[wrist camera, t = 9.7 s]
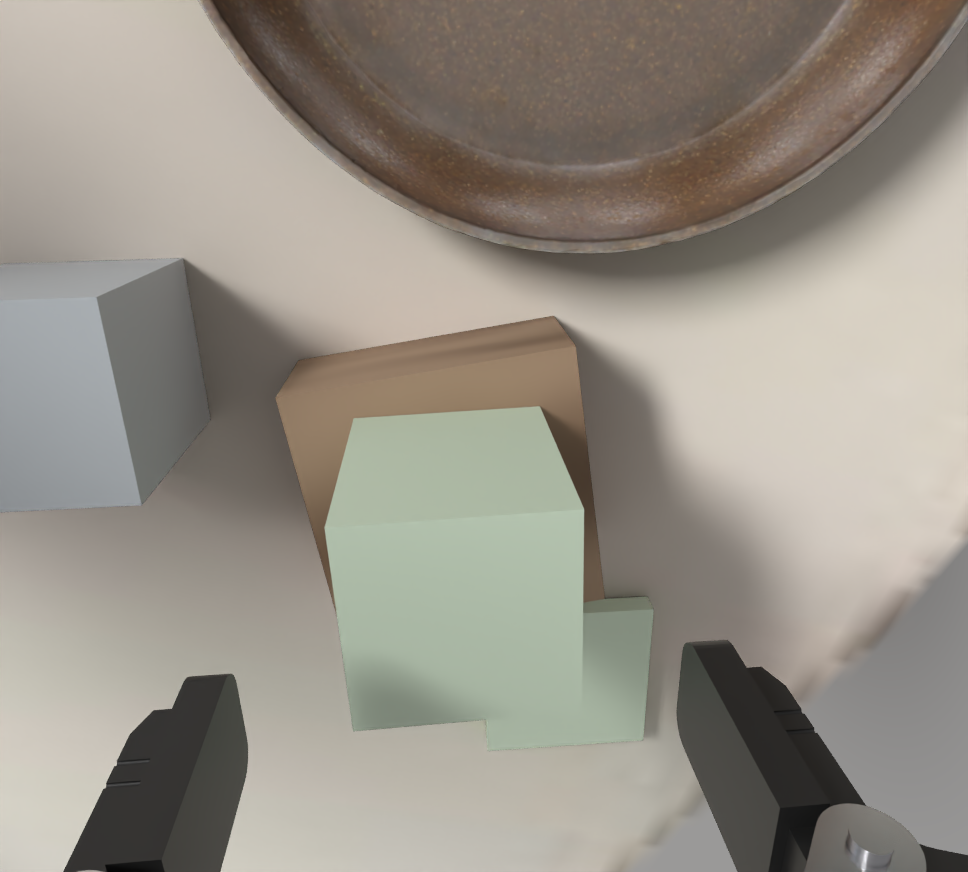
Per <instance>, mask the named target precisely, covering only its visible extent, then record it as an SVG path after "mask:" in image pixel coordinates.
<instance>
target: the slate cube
mask: <svg viewBox="0 0 968 872" xmlns="http://www.w3.org/2000/svg"><path fill="white" fill-rule="evenodd" d="M210 420H211V419H210V413H209V407H208V401H207V396H206V390H205V384H204V378H203V372H202V366H201V360H200V355H199V349H198V343H197V337H196V331H195V325H194V319H193V313H192V308H191V302H190V296H189V290H188V284H187V278H186V272H185V267H184V261H183V258H170V259H137V260H105V261H73V262H41V263H8V264H2V265H0V512H18V511H38V510H58V509H78V508H98V507H118V506H139V505H142V504H143V503H144V502H145V501H146V499H147V498H148V497H149V496H150V494H151V493H152V492H153V491H154V489H155V488H156V487H157V486H158V484H159V483H160V482H161V481H162V479H163V478H164V477H165V476H166V474H167V473H168V472H169V471H170V469H171V468H172V467H173V466H174V464H175V463H176V462H177V461H178V459H179V458H180V457H181V456H182V454H183V453H184V452H185V451H186V449H187V448H188V447H189V446H190V444H191V443H192V442H193V441H194V440H195V438H196V437H197V436H198V435H199V433H200V432H201V431H202V430H203V428H204V427H205V426H206V425H207V423H208V422H209V421H210Z"/></svg>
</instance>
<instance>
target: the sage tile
mask: <svg viewBox="0 0 968 872" xmlns="http://www.w3.org/2000/svg"><path fill="white" fill-rule="evenodd" d="M653 613H654V609H653V607H652V605H651V603H650V601H649V599H648V596H646V597H629V598H611V599H602V600H596V601H590V602H585V603H583V669H582V712H571V713H560V714H548V715H536V716H525V717H513V718H502V719H490V720H486V738H487V748H488V751H496V750H510V749H525V748H540V747H554V746H569V745H584V744H598V743H613V742H628V741H642V740H643V736H644V724H645V712H646V699H647V687H648V675H649V662H650V650H651V637H652V625H653Z"/></svg>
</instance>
